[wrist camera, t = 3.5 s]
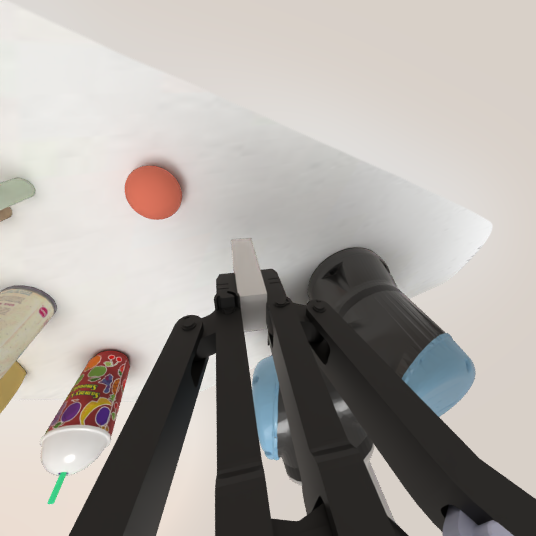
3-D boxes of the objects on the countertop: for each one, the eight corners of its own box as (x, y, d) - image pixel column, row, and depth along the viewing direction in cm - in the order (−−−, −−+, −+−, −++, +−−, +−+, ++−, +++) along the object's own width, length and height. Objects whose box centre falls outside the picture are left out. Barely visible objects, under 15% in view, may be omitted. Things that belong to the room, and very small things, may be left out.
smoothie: (112, 338, 42) (45, 483, 25) (146, 361, 46) (107, 496, 30) (75, 357, 42) (-15, 510, 26) (111, 378, 47) (55, 518, 31)
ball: (180, 161, 29) (172, 171, 24) (187, 209, 32) (182, 226, 27) (127, 161, 28) (108, 171, 23) (140, 210, 31) (126, 228, 26)
